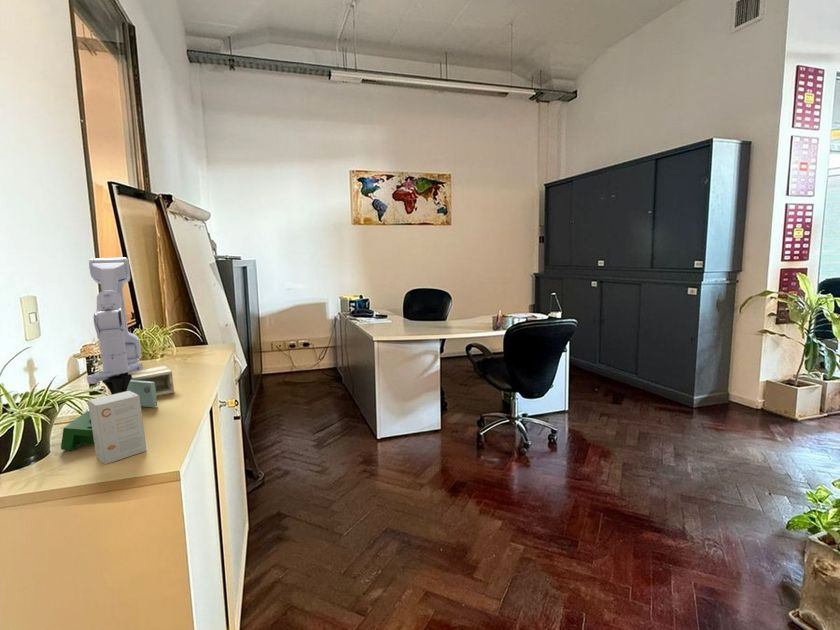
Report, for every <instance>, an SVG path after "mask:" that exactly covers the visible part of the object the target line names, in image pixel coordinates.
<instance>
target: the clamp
mask: <svg viewBox="0 0 840 630" xmlns="http://www.w3.org/2000/svg"><path fill="white" fill-rule="evenodd" d="M62 430H63V431H62V437H61V444H60V449H61V450H63V451H74V450H75V449H77V448H78V447H79V446H80V445H81V444H82V445H91V446H92V445H94V446H95V444H94V438H93V431H92V425H91V418H90V412H89V410H87V411H85V412H83V413H82V414H81V415H80V416H78V417H77V418H75V419H74V420H72V421H71V422H70V423H68V424H66V425H65V426H64V427H63V429H62Z"/></svg>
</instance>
